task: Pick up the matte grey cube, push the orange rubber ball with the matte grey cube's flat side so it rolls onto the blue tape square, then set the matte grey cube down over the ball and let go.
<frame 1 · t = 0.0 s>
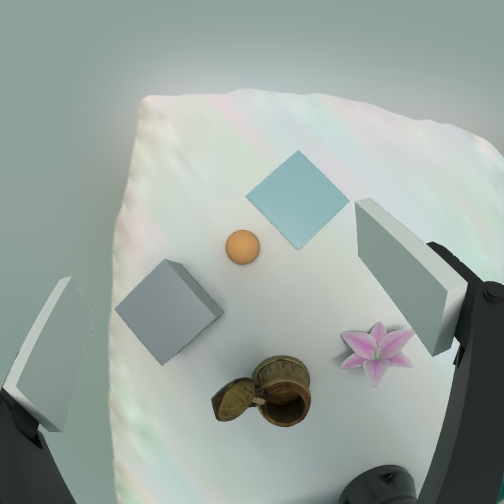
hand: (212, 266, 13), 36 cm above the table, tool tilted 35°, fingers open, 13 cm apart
matte grey cube: (179, 309, 49), on the table
wooden mug: (268, 376, 48), on the table
ball: (242, 247, 47), on the table
tape square: (298, 198, 50), on the table
lily: (368, 346, 48), on the table
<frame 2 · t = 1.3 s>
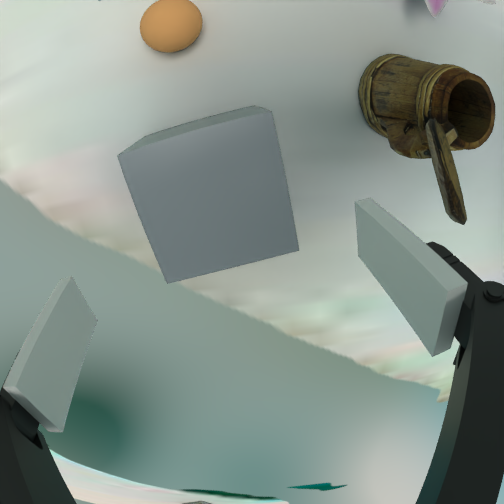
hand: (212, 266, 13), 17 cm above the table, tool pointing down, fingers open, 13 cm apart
matte grey cube: (213, 171, 28), on the table
wooden mug: (380, 106, 27), on the table
ball: (171, 24, 19), on the table
coffee box: (196, 503, 76), on the table
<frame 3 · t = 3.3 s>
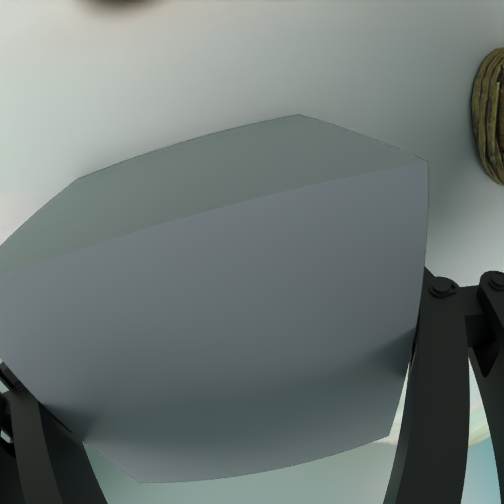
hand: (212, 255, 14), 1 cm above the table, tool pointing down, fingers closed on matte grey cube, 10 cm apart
matte grey cube: (212, 247, 15), on the table, touching gripper
wooden mug: (492, 131, 14), on the table
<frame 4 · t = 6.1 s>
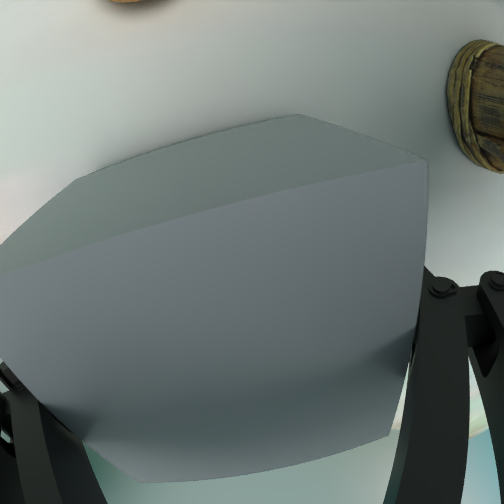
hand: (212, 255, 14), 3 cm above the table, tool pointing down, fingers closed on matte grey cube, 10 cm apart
matte grey cube: (212, 247, 15), point 2 cm above the table, touching gripper
wooden mug: (469, 116, 15), on the table
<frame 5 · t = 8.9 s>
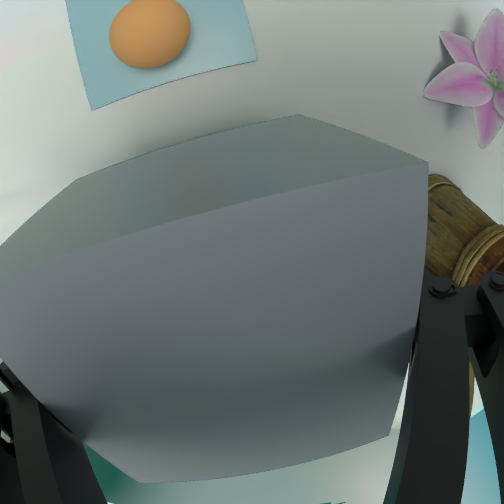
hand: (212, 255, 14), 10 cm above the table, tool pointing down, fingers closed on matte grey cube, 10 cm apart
matte grey cube: (212, 247, 15), point 9 cm above the table, touching gripper
wooden mug: (409, 231, 28), on the table
ball: (149, 31, 15), on the table
tape square: (152, 7, 16), on the table
lily: (457, 73, 20), on the table
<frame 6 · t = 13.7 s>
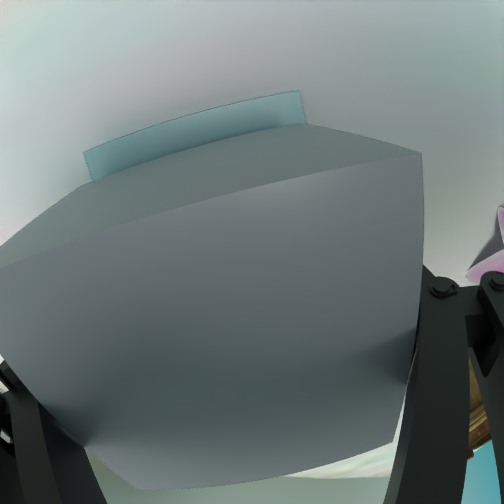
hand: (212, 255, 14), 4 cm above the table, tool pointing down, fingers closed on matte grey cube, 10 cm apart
matte grey cube: (214, 255, 15), point 4 cm above the table, touching ball, gripper
wooden mug: (429, 369, 29), on the table
tape square: (214, 218, 18), on the table
lily: (502, 241, 22), on the table
when the fingers open (2 cm above the table, at t = 14.9 s): matte grey cube drops 1 cm, on the table.
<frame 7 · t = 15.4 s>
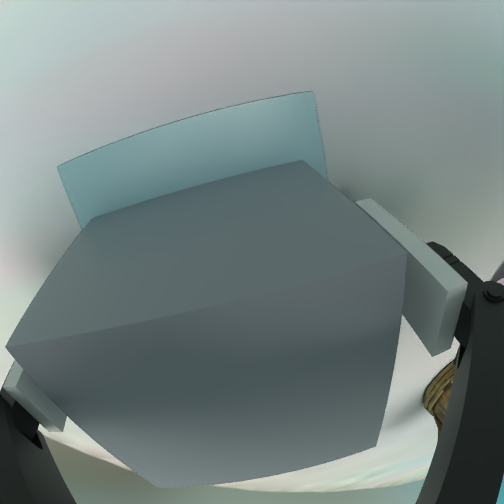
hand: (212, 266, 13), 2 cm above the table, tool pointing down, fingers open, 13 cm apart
matte grey cube: (220, 278, 16), on the table
wooden mug: (439, 387, 27), on the table
tape square: (211, 242, 15), on the table
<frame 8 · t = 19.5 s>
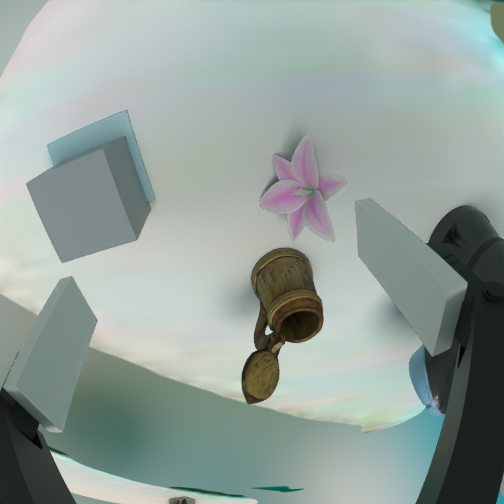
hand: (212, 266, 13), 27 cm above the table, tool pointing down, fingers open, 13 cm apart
matte grey cube: (102, 185, 37), on the table
wooden mug: (269, 283, 47), on the table
coffee box: (181, 498, 96), on the table
tape square: (98, 170, 36), on the table
lily: (292, 180, 40), on the table
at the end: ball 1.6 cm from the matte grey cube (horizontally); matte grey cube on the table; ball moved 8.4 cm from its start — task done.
